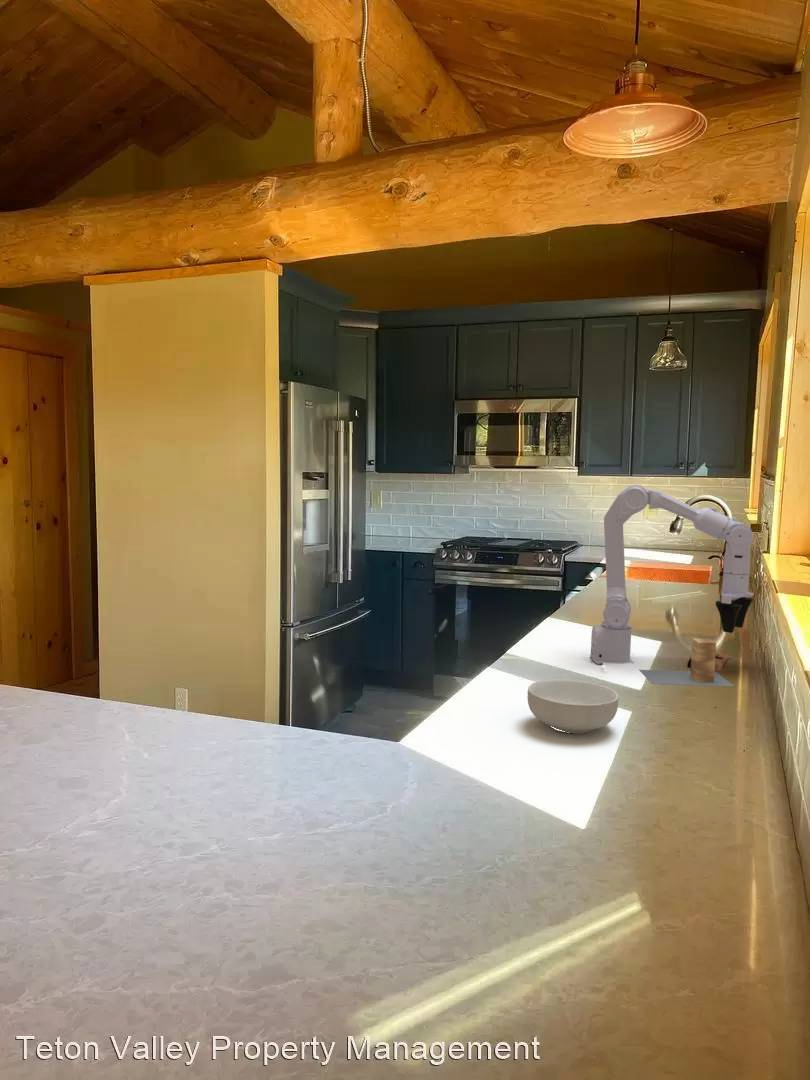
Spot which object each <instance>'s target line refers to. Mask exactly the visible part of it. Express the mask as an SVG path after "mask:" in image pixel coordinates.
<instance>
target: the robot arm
mask: <svg viewBox="0 0 810 1080" xmlns="http://www.w3.org/2000/svg"><path fill="white" fill-rule="evenodd" d="M646 507H648V510H653V509H654V510H656V509H662V510H665V511H667V512H670V513H672V514H675V515H677V516H678V517H679V516H680V518H684V519H687V520H689V521H691V522H692V524H693V527H694V529H696V530H697V531H699V532H702V533H704V534H706V535H708V536H711V537H712V538H715V539H717V540H719V541H723V540H724V541H725V542H726V543H725V552H724V554H723V556H724V557H723V571H722V572H723V573H722V589H721V591H720V593H721V600H717V601H715V606H716V608H717V611H718V614H719V616H720V621H721V626H722V627H721V628H722V631H723V633H731V634H732V633H734V631H735V628H740V629H741V628H743V626H744V623H745V621H746V620H745V619H746V616H747V612H748V610H749V608H750V606H751V604H752V603H753V598H752V597H753V596H754V592H750V591H749V585H750V584H749V583H750V582H749V581H750V569H751V568H750V567H751V548H752V547H751V544H752V543H753V541H754V537H755V536H754V533H753V531H752V529H751V528H750V526H748V525H747V524H746V523H743V522H742V521H741V520H740V521H738V519H737V517H734V516H732V517H729V516H727V515H725V514H723V513H721V512H718V509H717V508H715V507H713V506H712V507H711V508H709V507H708V506H707V507H703V508H701V509H698V508H695V507H693V506H691V505H689V504H688V503H685V502H683V501H681V500H679V499H676V498H675V497H673V496H671V495H668V494H666V493H664V492H662V491H659V490H655V489H653V488H645V487H644V486H642V485H640V484H639V485H638V484H631V485H629V486H627V487H626V488H624V490H622V491H621V492H620V493H619V494H618V495H617V496H616V498H615V499H614V501H613V502H612V504H611V506H610V507H609V508H608V510H607V512H606V513H605V515H604V517H603V528H604V529H603V531H604V554H605V576H606V603H605V607H604V609H603V612H602V617H603V620H602V621H601V625H600V624H599V625H593V626H592V628H591V629H592V630H591V637H590V638H591V639H590V655H589V657H590V658H591V659H592V660H593V661H594V663H595V664H596V665H604V664H605V663H606V664H635V662H634V661H633V660H632V659H631V648H632V647H631V645H632V643H631V642H632V624H631V623H630V622H629V621H630V618H631V615H630V614H631V611H632V606H631V604H630V602H629V601H628V598H627V588H626V569H625V566H626V565H625V561H626V560H625V538H624V524H625V523H626V522H628V520H629V519H630V518H631V517H632V516H634V515H636V514H637V513H639V512H641V511H643V510H645V508H646Z"/></svg>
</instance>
